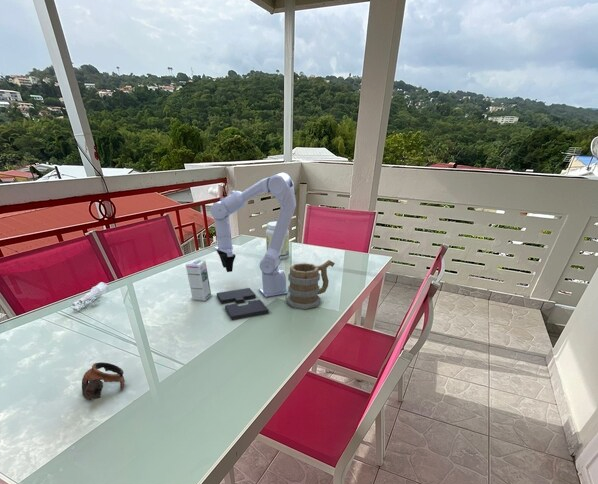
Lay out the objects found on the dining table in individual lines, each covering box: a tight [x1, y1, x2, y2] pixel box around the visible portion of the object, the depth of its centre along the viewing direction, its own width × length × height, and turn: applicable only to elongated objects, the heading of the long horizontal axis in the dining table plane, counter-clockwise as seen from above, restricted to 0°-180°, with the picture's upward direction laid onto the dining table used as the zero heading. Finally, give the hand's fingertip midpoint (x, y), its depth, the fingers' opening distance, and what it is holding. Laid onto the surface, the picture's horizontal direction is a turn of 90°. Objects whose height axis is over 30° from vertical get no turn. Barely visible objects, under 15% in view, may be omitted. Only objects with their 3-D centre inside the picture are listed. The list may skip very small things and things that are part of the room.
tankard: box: [286, 259, 335, 310], centre depth 129 cm, size 20×13×15 cm, turn 117°
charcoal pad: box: [224, 299, 269, 321], centre depth 124 cm, size 14×10×2 cm
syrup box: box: [185, 259, 212, 302], centre depth 130 cm, size 6×6×14 cm
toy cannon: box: [71, 281, 110, 313], centre depth 126 cm, size 8×14×5 cm
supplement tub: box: [265, 220, 290, 260], centre depth 175 cm, size 12×12×17 cm
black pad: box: [216, 287, 257, 305], centre depth 134 cm, size 14×10×2 cm
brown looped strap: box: [81, 361, 126, 401], centre depth 83 cm, size 12×10×8 cm
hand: (227, 269), depth 137 cm, fingers open, 5 cm apart
